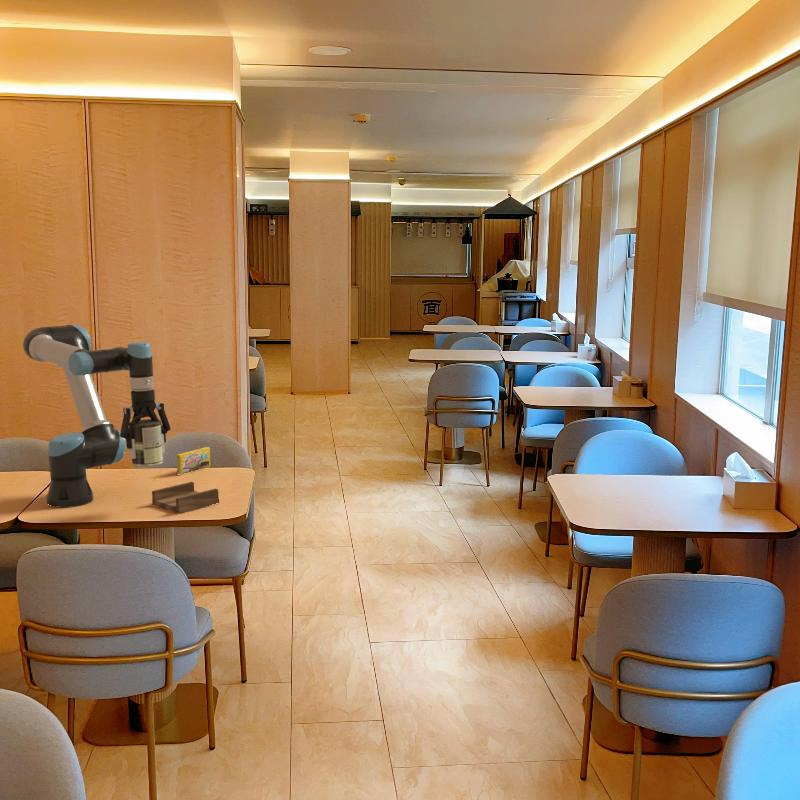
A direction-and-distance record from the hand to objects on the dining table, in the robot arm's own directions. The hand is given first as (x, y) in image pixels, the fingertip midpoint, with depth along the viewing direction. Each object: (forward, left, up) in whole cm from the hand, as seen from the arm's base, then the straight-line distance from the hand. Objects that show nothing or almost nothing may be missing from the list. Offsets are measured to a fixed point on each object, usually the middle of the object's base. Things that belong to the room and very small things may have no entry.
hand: (147, 455), depth 302 cm
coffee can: (0, 0, -3) cm, 3 cm away
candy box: (-32, +41, -19) cm, 55 cm away
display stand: (+5, +11, -19) cm, 22 cm away
